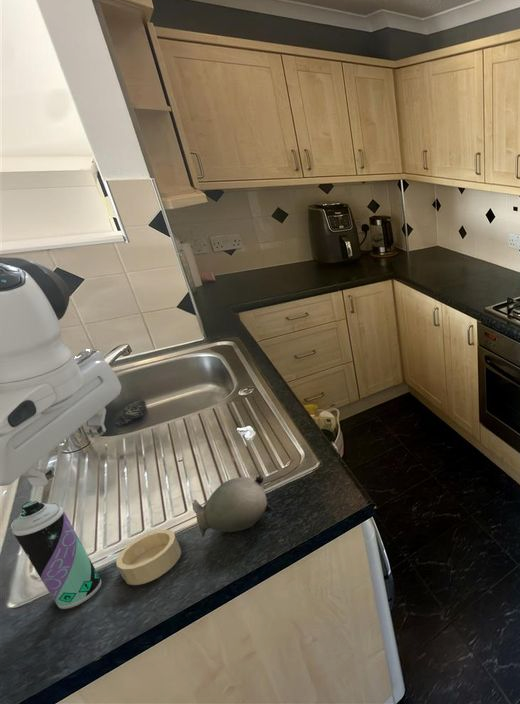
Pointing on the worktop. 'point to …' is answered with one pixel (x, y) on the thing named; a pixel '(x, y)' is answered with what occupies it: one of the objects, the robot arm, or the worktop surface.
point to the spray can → (56, 553)
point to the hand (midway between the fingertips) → (72, 456)
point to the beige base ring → (148, 557)
